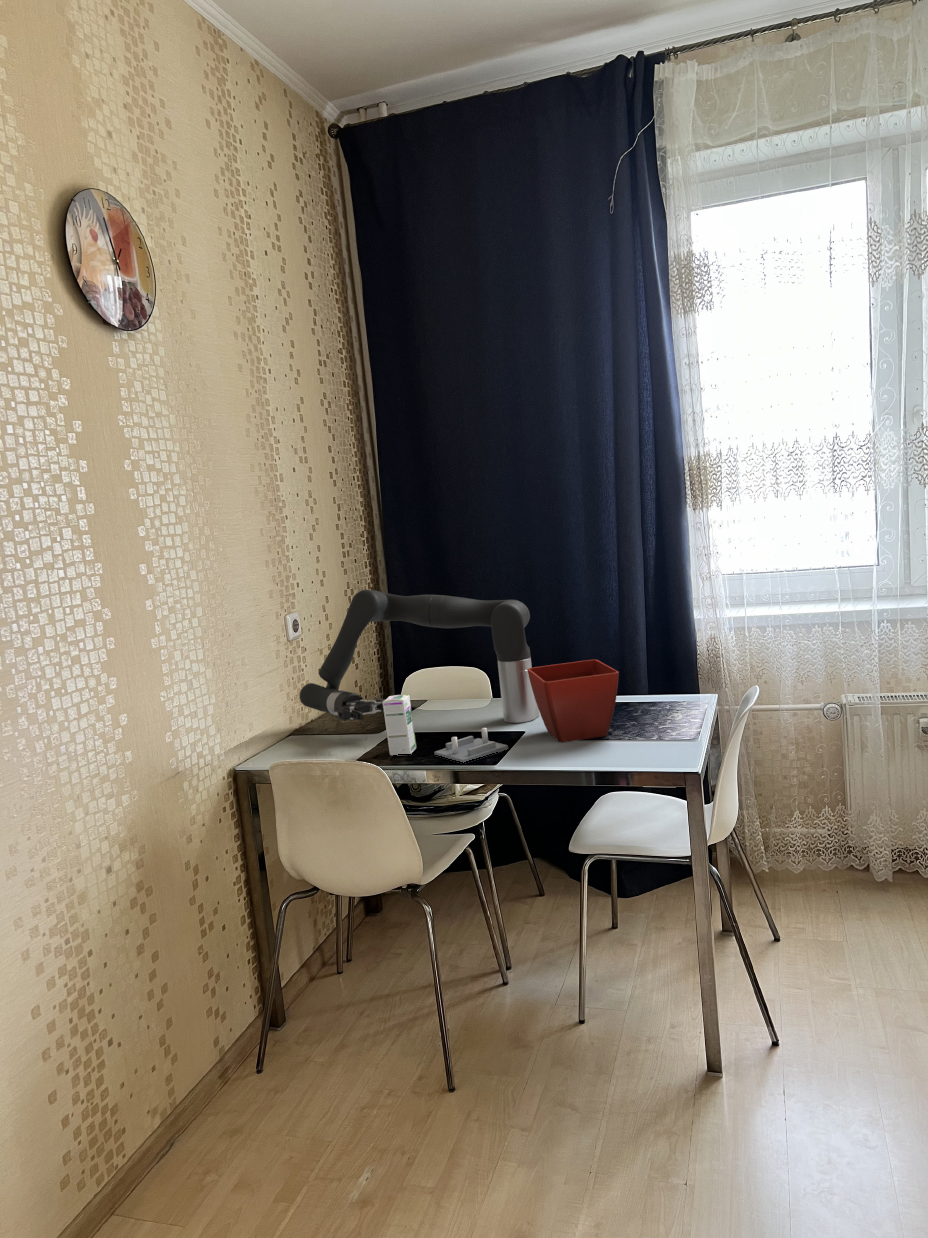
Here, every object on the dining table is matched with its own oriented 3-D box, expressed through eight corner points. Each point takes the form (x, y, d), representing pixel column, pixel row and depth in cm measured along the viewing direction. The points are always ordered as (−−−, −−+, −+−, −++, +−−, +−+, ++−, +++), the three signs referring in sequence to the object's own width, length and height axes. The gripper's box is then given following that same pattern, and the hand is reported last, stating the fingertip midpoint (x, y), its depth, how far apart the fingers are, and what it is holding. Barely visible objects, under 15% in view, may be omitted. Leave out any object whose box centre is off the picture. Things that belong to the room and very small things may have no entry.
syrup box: (411, 755, 229) (404, 699, 227) (388, 756, 231) (382, 700, 229) (416, 748, 235) (410, 693, 233) (395, 749, 236) (388, 695, 234)
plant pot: (625, 737, 224) (620, 671, 222) (551, 749, 222) (544, 681, 219) (601, 720, 243) (596, 658, 241) (532, 730, 240) (526, 668, 238)
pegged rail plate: (478, 741, 235) (476, 723, 234) (508, 749, 225) (506, 729, 224) (434, 755, 227) (432, 736, 226) (463, 764, 217) (461, 743, 216)
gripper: (321, 697, 249) (350, 704, 236) (365, 686, 257) (396, 693, 244) (324, 723, 250) (353, 732, 237) (368, 712, 258) (399, 720, 245)
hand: (375, 712), depth 241 cm, fingers open, 8 cm apart
